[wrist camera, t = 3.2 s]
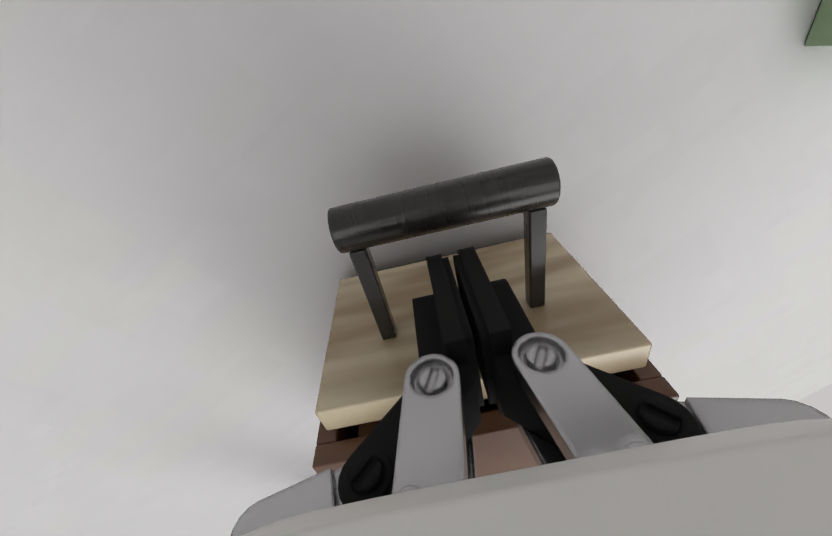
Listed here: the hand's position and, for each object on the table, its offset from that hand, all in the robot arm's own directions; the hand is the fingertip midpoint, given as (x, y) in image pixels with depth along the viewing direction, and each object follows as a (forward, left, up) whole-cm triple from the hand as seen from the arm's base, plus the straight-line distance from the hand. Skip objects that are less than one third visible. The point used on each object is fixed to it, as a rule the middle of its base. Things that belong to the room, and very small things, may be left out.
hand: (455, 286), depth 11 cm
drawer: (+6, 0, -6) cm, 8 cm away
